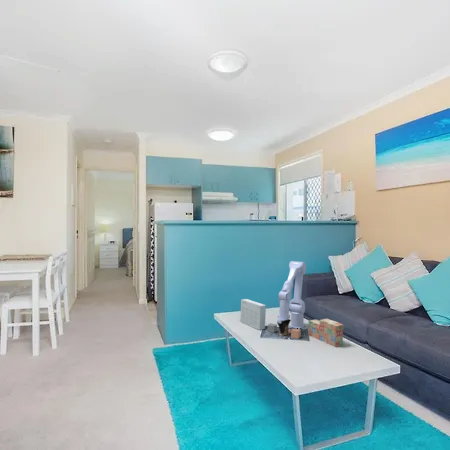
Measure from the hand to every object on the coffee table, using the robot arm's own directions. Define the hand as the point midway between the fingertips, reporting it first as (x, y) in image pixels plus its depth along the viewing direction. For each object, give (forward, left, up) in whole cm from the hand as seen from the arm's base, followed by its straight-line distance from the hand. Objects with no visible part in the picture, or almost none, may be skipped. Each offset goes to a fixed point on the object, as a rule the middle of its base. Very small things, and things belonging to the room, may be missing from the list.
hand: (283, 331), depth 199 cm
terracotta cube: (0, +8, -2) cm, 8 cm away
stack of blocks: (-6, +24, -2) cm, 25 cm away
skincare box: (-3, -24, -2) cm, 25 cm away
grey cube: (0, -8, -2) cm, 8 cm away
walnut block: (0, 0, -1) cm, 1 cm away
